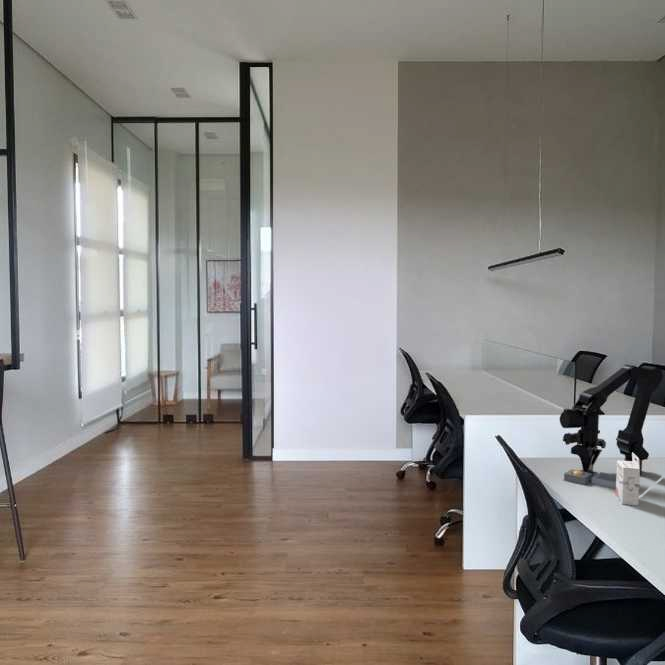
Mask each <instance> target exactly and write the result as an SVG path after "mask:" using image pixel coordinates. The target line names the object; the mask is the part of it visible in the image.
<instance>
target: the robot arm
mask: <svg viewBox="0 0 665 665" xmlns="http://www.w3.org/2000/svg"><path fill="white" fill-rule="evenodd" d="M634 377H635V384H636V387H637V390H636V391H637V392H636V394H635V397H634V400H633V403H632V409H631V412H630V414H629V418H628V420H627V423H626V424H627V425H626V427H625V428H624V429H623V430H622V429H619V430H618V432H617V437H616V438H615V441H616V446H617V448H618V450H619V454H620V455H624V461H632V452H633V453H634V454H635V455H636V456H637V457H638V458H639V464H640V477H641V476H642V475H643V474H645V471H643V461H645V460H648V458H649V456H650V453H649V452H648V450H646V448H645V447H643V446H644V436H643V432H642V431H643V428H644V423H645V420H646V417H647V414H648V410H649V407H650V404H651V400H652V397H653V394H654V392H655V391H656V390H657V389H658V388H660V386H661V383H662V381H663V379H664V372H663V371H662V370H661V368H658V367H655V366H647V365H642V366H641V367H639V366H636V365H632V364H624V365H622V367H621V368H620V369H618V370H617V371H616V372H614V373H613V374H612V375H610V376H609V377H608V378H606V380H604V381H602V382H601V383H600V384H598V385H596V386H594V387H589V388H588V389H586V390H583V391H581V393H579V397H578V399H577V400H576V402H575V403H574V405H573V406H572V408H568V407H567V408H563V411H562V412H561V414H560V416H559V423H560V424H559V425H560V426H561V427H562V429H577V428H578V430H577V432H573V433H571V432H568V433H567V432H566V433H564V435H563V436H562V438H563V439H562V442H564V443H565V446H568V445H571V444H575V445H572V447H570V454H571V455H575V456H578V457H579V458H580V461H581V467H582V466H583V470H584V472H587V471H588V469H589V467H590V465H591V463H593V467H594V466H595V463H596V461H598V458H599V456H600V454H601V453H602V452H603V449H606V447H607V446H606V445H607V442H606V441H605V439H603V438H599V434H601V430H600V429H599V424H600V423H599V421H600V420H599V419H600V416H604V415H606V413H605V412H604V411H603V410H602V409H601V408H602V406H604V404H606V402H607V400H608V397H609V396H610V395H611V394H613V393H614V392H616V391H617V390H618V389H620V388H621V387H623V385H625V384H626V383H628V382H629V381H630V380H632V378H634ZM579 428H580V429H579ZM599 447H601V448H600V449H599ZM635 461H636V462H637V460H636V458H635Z"/></svg>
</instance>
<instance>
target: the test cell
mask: <svg viewBox="0 0 665 665" xmlns="http://www.w3.org/2000/svg"><path fill="white" fill-rule="evenodd" d="M581 467H582V468H581V470H582V471H583V472H584V470H583V466H582V465H581ZM593 471H594V466H593V463H591V465H590V467H589V469H588V471H587V472H588V473H592V474H593Z"/></svg>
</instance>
